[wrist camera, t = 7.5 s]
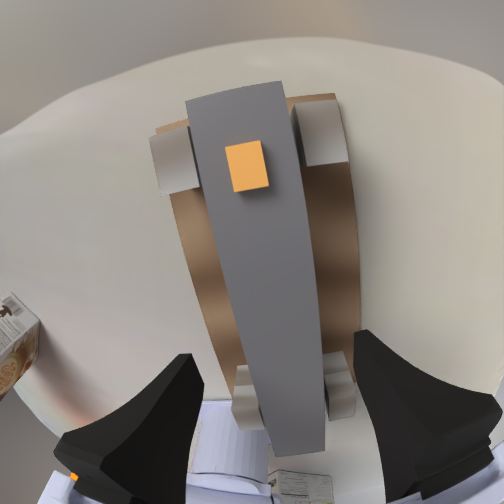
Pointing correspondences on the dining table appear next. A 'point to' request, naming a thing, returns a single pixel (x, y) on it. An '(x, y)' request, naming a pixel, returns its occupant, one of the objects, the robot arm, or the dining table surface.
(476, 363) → the dining table surface
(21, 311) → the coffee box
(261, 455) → the robot arm
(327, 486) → the light bulb box
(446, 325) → the dining table surface
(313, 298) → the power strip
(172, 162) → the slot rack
